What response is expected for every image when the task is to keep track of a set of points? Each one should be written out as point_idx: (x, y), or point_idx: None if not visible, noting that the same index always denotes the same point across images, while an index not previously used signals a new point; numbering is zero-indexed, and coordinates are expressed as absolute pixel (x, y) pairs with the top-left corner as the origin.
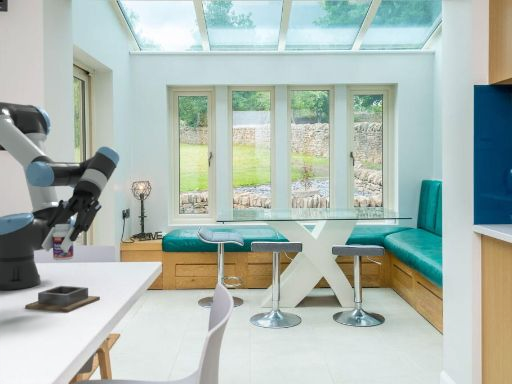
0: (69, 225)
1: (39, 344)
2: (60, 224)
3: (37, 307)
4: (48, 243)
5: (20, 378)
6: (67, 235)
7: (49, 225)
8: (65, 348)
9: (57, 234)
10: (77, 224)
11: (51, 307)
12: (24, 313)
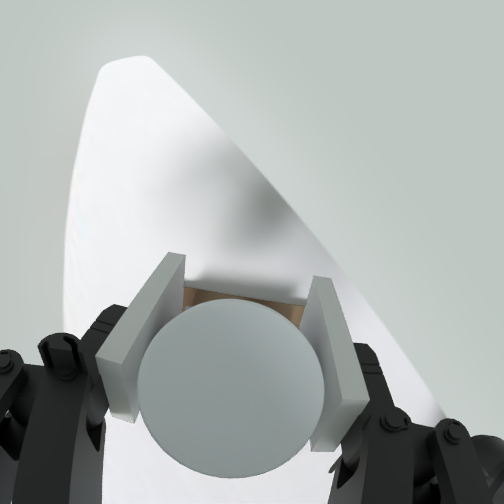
0: (138, 389)
1: (147, 114)
2: (272, 404)
3: (274, 302)
4: (311, 319)
5: (132, 57)
6: (144, 303)
7: (430, 435)
8: (106, 111)
9: (238, 301)
10: (48, 389)
11: (228, 295)
12: (284, 263)
